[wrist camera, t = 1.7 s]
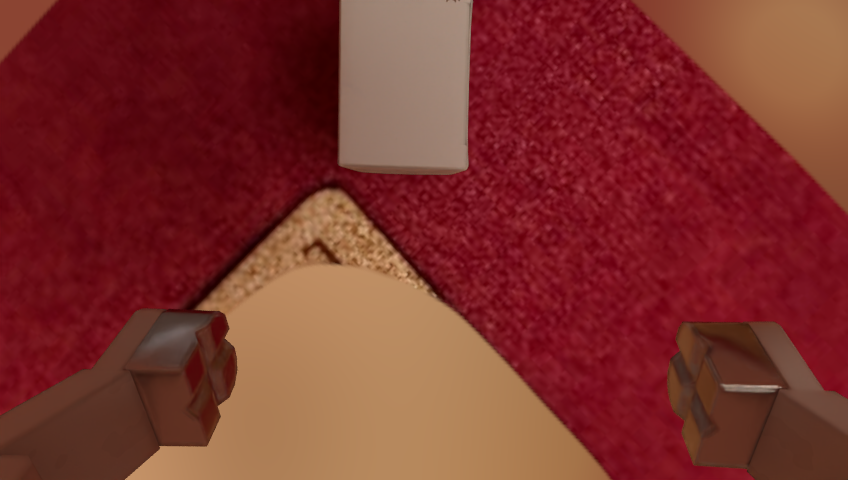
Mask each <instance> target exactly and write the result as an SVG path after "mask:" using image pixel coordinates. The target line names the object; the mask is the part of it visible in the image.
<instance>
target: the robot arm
mask: <svg viewBox="0 0 848 480" xmlns="http://www.w3.org/2000/svg"><path fill="white" fill-rule="evenodd" d="M228 330H229V326H228V323H227V319H226V316H225V314H223V313H222V312H220V311H202V310H180V309H168V310H166V309H146V308H142V309H140V310H138V311H136V312H135V313H134V314H133V315H132V316H131V318H130V319H129V320H128V322H127V323H126V324H125V326H124V327H123V328H122V330H121V331H120V332H119V334H118V335H117V336H116V338H115V339H114V340H113V341H112V343H111V344H110V345H109V347H108V348H107V349H106V351H105V352H104V353H103V355H102V356H101V357H100V359H99V360H98V361H97V363H96V364H95V365H94V367H93V368H92V369H83V370H81V371H79V372H77V373H75V374H74V375H72V376H70V377H68V378H66V379H65V380H63V381H61V382H59V383H58V384H56V385H54V386H52V387H50V388H49V389H47V390H45V391H43V392H41V393H40V394H38V395H36V396H34V397H33V398H31V399H29V400H27V401H25V402H24V403H22V404H20V405H18V406H17V407H15V408H13V409H11V410H9V411H8V412H6V413H4V414H2V415H0V480H125V479H126V478H127V477H128V476H129V475H130V474H132V473H133V472H134V471H135V470H136V469H137V468H138V467H140V466H141V465H142V464H143V463H144V462H145V461H146V460H148V459H149V458H150V457H151V456H152V455H153V454H154V453H156V452H157V451H158V450H159V449H160V447H159V446H207V445H208V443H209V441H210V439H211V436H212V434H213V432H214V430H215V428H216V426H217V423H218V421H219V419H220V417H221V416H220V413H219V410H218V405H220V404H221V403H222V402H224V401H225V400H227V399H228V398H229V397H230V395H231V392H232V390H233V388H234V385H235V380H236V374H237V356H236V352H235V348H234V347H233V346H232V345H231V344H230V343H229V342H228V341H227V340H226V339H225V336H226V334H227V332H228ZM676 341H677V344H678V346H679V349H680V351H679V352H678V353H677V354H676V355H674V356H673V357H672V358H671V359H670V364H669V369H668V393H669V398H670V402H671V405H672V408H673V411H674V412H675V413H676V414H677V415H678V416H680V417H681V418H682V419H683V420H685V422H684V426H683V429H682V435H683V438H684V440H685V443H686V446H687V448H688V451H689V454H690V456H691V459H692V462H693V464H694V465H697V466H713V467H728V468H744V469H747V472H748V473H749V474H750V475H751V476H752V477H753V478H754V479H755V480H848V399H846V398H845V397H843V396H841V395H840V394H838V393H836V392H835V391H824V389H823V388H822V386H821V385H820V383H819V382H818V380H817V379H816V377H815V376H814V374H813V373H812V371H811V370H810V368H809V367H808V366H807V364H806V363H805V361H804V360H803V358H802V357H801V355H800V354H799V352H798V351H797V349H796V348H795V346H794V345H793V343H792V342H791V340H790V339H789V337H788V336H787V335H786V333H785V332H784V330H783V329H782V327H781V326H780V325H779V324H777V323H775V322H743V323H740V322H682V324H681V325H680V327H679V329H678V332H677V336H676Z"/></svg>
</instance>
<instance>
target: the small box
mask: <svg viewBox="0 0 848 480" xmlns="http://www.w3.org/2000/svg"><path fill="white" fill-rule="evenodd" d="M472 3H473V0H339V75H338V165H339V166H341V167H345V168H349V169H351V170H356V171H359V172H368V173H385V174H428V175H451V174H455V173H458V172H461V171H465V170H467V168H468V98H469V65H470V37H471V17H472Z"/></svg>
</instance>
